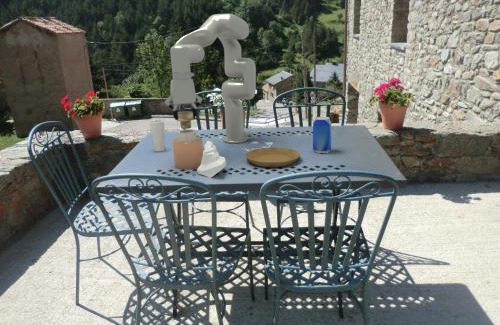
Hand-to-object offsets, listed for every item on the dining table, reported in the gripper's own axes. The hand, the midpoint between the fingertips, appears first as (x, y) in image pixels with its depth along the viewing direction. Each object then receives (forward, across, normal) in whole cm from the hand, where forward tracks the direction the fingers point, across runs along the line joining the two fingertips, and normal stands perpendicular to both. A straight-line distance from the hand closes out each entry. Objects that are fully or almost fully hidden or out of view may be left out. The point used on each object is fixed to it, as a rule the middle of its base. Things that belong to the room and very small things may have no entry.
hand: (185, 118), depth 182 cm
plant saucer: (+21, -35, +12) cm, 43 cm away
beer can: (+21, -61, +10) cm, 65 cm away
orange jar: (+21, 0, 0) cm, 21 cm away
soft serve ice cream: (+21, -6, +16) cm, 27 cm away
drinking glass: (+21, +8, -30) cm, 37 cm away
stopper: (+4, 0, 0) cm, 4 cm away
